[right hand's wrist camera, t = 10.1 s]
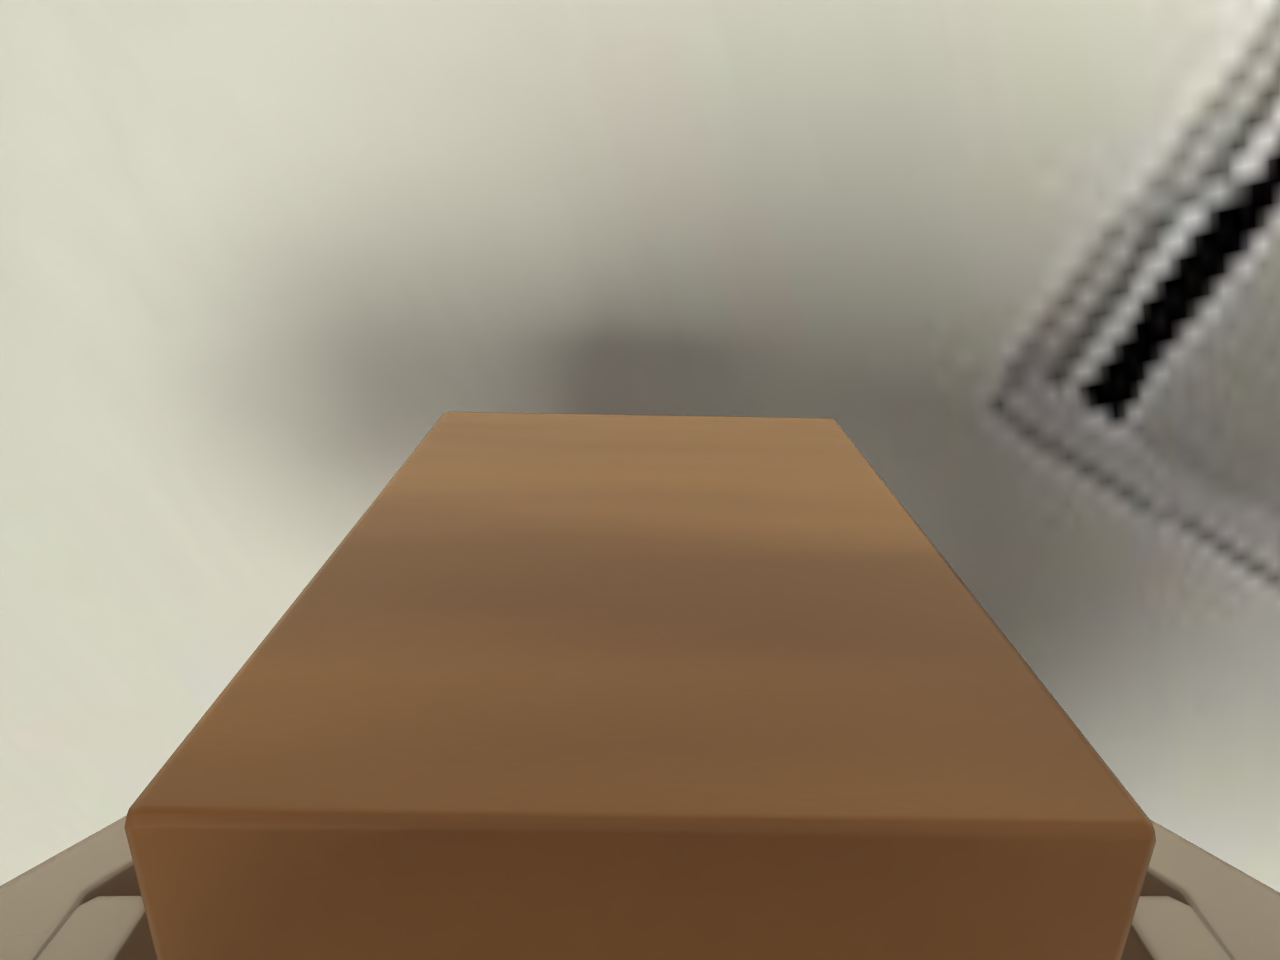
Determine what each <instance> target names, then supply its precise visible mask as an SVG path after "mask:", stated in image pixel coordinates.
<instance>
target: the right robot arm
mask: <svg viewBox="0 0 1280 960" xmlns="http://www.w3.org/2000/svg"><path fill="white" fill-rule="evenodd" d="M126 817H127V816H125V817H123V818H121V819H120V820H118V821H116V822H114V823H113V824H111V825H109V826H107V827H105V828H104V829H102V830H100V831H98V832H96V833H95V834H93V835H91V836H89V837H87V838H86V839H84V840H82V841H80V842H79V843H77V844H75V845H73V846H71V847H70V848H68V849H66V850H64V851H62V852H61V853H59V854H57V855H55V856H53V857H52V858H50V859H48V860H46V861H45V862H43V863H41V864H39V865H37V866H36V867H34V868H32V869H30V870H28V871H27V872H25V873H23V874H21V875H20V876H18V877H16V878H14V879H12V880H11V881H9V882H7V883H5V884H3V885H2V886H0V960H157V956H156V952H155V948H154V944H153V940H152V936H151V932H150V928H149V924H148V920H147V916H146V912H145V908H144V904H143V900H142V896H141V892H140V888H139V884H138V880H137V876H136V872H135V868H134V864H133V860H132V856H131V852H130V848H129V844H128V840H127V836H126V832H125V821H126ZM1151 822H1152V824H1153V827H1154V830H1155V835H1156V843H1155V847H1154V850H1153V854H1152V857H1151V860H1150V864H1149V867H1148V870H1147V874H1146V877H1145V880H1144V884H1143V887H1142V890H1141V894H1140V897H1139V900H1138V904H1137V907H1136V910H1135V914H1134V917H1133V920H1132V924H1131V927H1130V931H1129V934H1128V937H1127V941H1126V944H1125V947H1124V951H1123V954H1122V957H1121V960H1280V893H1279V892H1277V891H1275V890H1274V889H1272V888H1270V887H1268V886H1267V885H1265V884H1263V883H1261V882H1259V881H1258V880H1256V879H1254V878H1252V877H1251V876H1249V875H1247V874H1245V873H1244V872H1242V871H1240V870H1238V869H1236V868H1235V867H1233V866H1231V865H1229V864H1228V863H1226V862H1224V861H1222V860H1221V859H1219V858H1217V857H1215V856H1214V855H1212V854H1210V853H1208V852H1206V851H1205V850H1203V849H1201V848H1199V847H1198V846H1196V845H1194V844H1192V843H1191V842H1189V841H1187V840H1185V839H1184V838H1182V837H1180V836H1178V835H1176V834H1175V833H1173V832H1171V831H1169V830H1168V829H1166V828H1164V827H1162V826H1161V825H1159V824H1157V823H1155V822H1154V821H1152V820H1151Z"/></svg>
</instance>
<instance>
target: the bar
mask: <svg viewBox="0 0 1280 960" xmlns="http://www.w3.org/2000/svg"><path fill="white" fill-rule="evenodd" d="M125 832H126V836H127V840H128V844H129V848H130V852H131V856H132V860H133V864H134V868H135V872H136V876H137V880H138V884H139V888H140V892H141V896H142V900H143V904H144V908H145V912H146V916H147V920H148V924H149V928H150V932H151V936H152V940H153V944H154V948H155V952H156V956H157V960H1121V957H1122V954H1123V951H1124V947H1125V944H1126V941H1127V937H1128V934H1129V931H1130V927H1131V924H1132V920H1133V917H1134V914H1135V910H1136V907H1137V904H1138V900H1139V897H1140V894H1141V890H1142V887H1143V884H1144V880H1145V877H1146V874H1147V870H1148V867H1149V864H1150V860H1151V857H1152V854H1153V850H1154V847H1155V843H1156V835H1155V830H1154V827H1153V824H1152V822H1151V820H1150V819H1149V818H1148V817H1147V815H1146V814H1145V813H1144V812H1143V810H1142V809H1141V808H1140V806H1139V805H1138V804H1137V803H1136V801H1135V800H1134V799H1133V798H1132V796H1131V795H1130V794H1129V793H1128V791H1127V790H1126V789H1125V787H1124V786H1123V785H1122V784H1121V782H1120V781H1119V780H1118V779H1117V777H1116V776H1115V775H1114V773H1113V772H1112V771H1111V770H1110V768H1109V767H1108V766H1107V765H1106V763H1105V762H1104V761H1103V760H1102V758H1101V757H1100V756H1099V754H1098V753H1097V752H1096V751H1095V749H1094V748H1093V747H1092V746H1091V744H1090V743H1089V742H1088V740H1087V739H1086V738H1085V737H1084V735H1083V734H1082V733H1081V732H1080V730H1079V729H1078V728H1077V727H1076V725H1075V724H1074V723H1073V721H1072V720H1071V719H1070V718H1069V716H1068V715H1067V714H1066V713H1065V711H1064V710H1063V709H1062V707H1061V706H1060V705H1059V704H1058V702H1057V701H1056V700H1055V699H1054V697H1053V696H1052V695H1051V694H1050V692H1049V691H1048V690H1047V688H1046V687H1045V686H1044V685H1043V683H1042V682H1041V681H1040V680H1039V678H1038V677H1037V676H1036V674H1035V673H1034V672H1033V671H1032V669H1031V668H1030V667H1029V666H1028V664H1027V663H1026V662H1025V661H1024V659H1023V658H1022V657H1021V655H1020V654H1019V653H1018V652H1017V650H1016V649H1015V648H1014V647H1013V645H1012V644H1011V643H1010V641H1009V640H1008V639H1007V638H1006V636H1005V635H1004V634H1003V633H1002V631H1001V630H1000V629H999V628H998V626H997V625H996V624H995V622H994V621H993V620H992V619H991V617H990V616H989V615H988V614H987V612H986V611H985V610H984V608H983V607H982V606H981V605H980V603H979V602H978V601H977V600H976V598H975V597H974V596H973V594H972V593H971V592H970V591H969V589H968V588H967V587H966V586H965V584H964V583H963V582H962V581H961V579H960V578H959V577H958V575H957V574H956V573H955V572H954V570H953V569H952V568H951V567H950V565H949V564H948V563H947V561H946V560H945V559H944V558H943V556H942V555H941V554H940V553H939V551H938V550H937V549H936V548H935V546H934V545H933V544H932V542H931V541H930V540H929V539H928V537H927V536H926V535H925V534H924V532H923V531H922V530H921V528H920V527H919V526H918V525H917V523H916V522H915V521H914V520H913V518H912V517H911V516H910V515H909V513H908V512H907V511H906V509H905V508H904V507H903V506H902V504H901V503H900V502H899V501H898V499H897V498H896V497H895V495H894V494H893V493H892V492H891V490H890V489H889V488H888V487H887V485H886V484H885V483H884V482H883V480H882V479H881V478H880V476H879V475H878V474H877V473H876V471H875V470H874V469H873V468H872V466H871V465H870V464H869V462H868V461H867V460H866V459H865V457H864V456H863V455H862V454H861V452H860V451H859V450H858V449H857V447H856V446H855V445H854V443H853V442H852V441H851V440H850V438H849V437H848V436H847V435H846V433H845V432H844V431H843V429H842V428H841V427H840V426H839V424H838V423H837V422H836V421H835V420H833V419H831V418H780V417H723V416H665V415H607V414H549V413H491V412H447V413H444V414H443V415H442V417H441V418H440V419H439V420H438V422H437V423H436V424H435V425H434V427H433V428H432V429H431V430H430V432H429V433H428V434H427V435H426V437H425V438H424V439H423V440H422V442H421V443H420V444H419V446H418V447H417V448H416V449H415V451H414V452H413V453H412V454H411V456H410V457H409V458H408V459H407V461H406V462H405V463H404V464H403V466H402V467H401V468H400V469H399V471H398V472H397V473H396V474H395V476H394V477H393V478H392V479H391V481H390V482H389V483H388V484H387V486H386V487H385V488H384V489H383V491H382V492H381V493H380V494H379V496H378V497H377V498H376V500H375V501H374V502H373V503H372V505H371V506H370V507H369V508H368V510H367V511H366V512H365V513H364V515H363V516H362V517H361V518H360V520H359V521H358V522H357V523H356V525H355V526H354V527H353V528H352V530H351V531H350V532H349V533H348V535H347V536H346V537H345V538H344V540H343V541H342V542H341V543H340V545H339V546H338V547H337V548H336V550H335V551H334V552H333V554H332V555H331V556H330V557H329V559H328V560H327V561H326V562H325V564H324V565H323V566H322V567H321V569H320V570H319V571H318V572H317V574H316V575H315V576H314V577H313V579H312V580H311V581H310V582H309V584H308V585H307V586H306V587H305V589H304V590H303V591H302V592H301V594H300V595H299V596H298V597H297V599H296V600H295V601H294V602H293V604H292V605H291V606H290V608H289V609H288V610H287V611H286V613H285V614H284V615H283V616H282V618H281V619H280V620H279V621H278V623H277V624H276V625H275V626H274V628H273V629H272V630H271V631H270V633H269V634H268V635H267V636H266V638H265V639H264V640H263V641H262V643H261V644H260V645H259V646H258V648H257V649H256V650H255V651H254V653H253V654H252V655H251V656H250V658H249V659H248V660H247V661H246V663H245V664H244V665H243V667H242V668H241V669H240V670H239V672H238V673H237V674H236V675H235V677H234V678H233V679H232V680H231V682H230V683H229V684H228V685H227V687H226V688H225V689H224V690H223V692H222V693H221V694H220V695H219V697H218V698H217V699H216V700H215V702H214V703H213V704H212V705H211V707H210V708H209V709H208V710H207V712H206V713H205V714H204V715H203V717H202V718H201V719H200V721H199V722H198V723H197V724H196V726H195V727H194V728H193V729H192V731H191V732H190V733H189V734H188V736H187V737H186V738H185V739H184V741H183V742H182V743H181V744H180V746H179V747H178V748H177V749H176V751H175V752H174V753H173V754H172V756H171V757H170V758H169V759H168V761H167V762H166V763H165V764H164V766H163V767H162V768H161V769H160V771H159V772H158V773H157V775H156V776H155V777H154V778H153V780H152V781H151V782H150V783H149V785H148V786H147V787H146V788H145V790H144V791H143V792H142V793H141V795H140V796H139V797H138V798H137V800H136V801H135V802H134V803H133V805H132V806H131V807H130V808H129V811H128V814H127V817H126V821H125Z"/></svg>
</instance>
